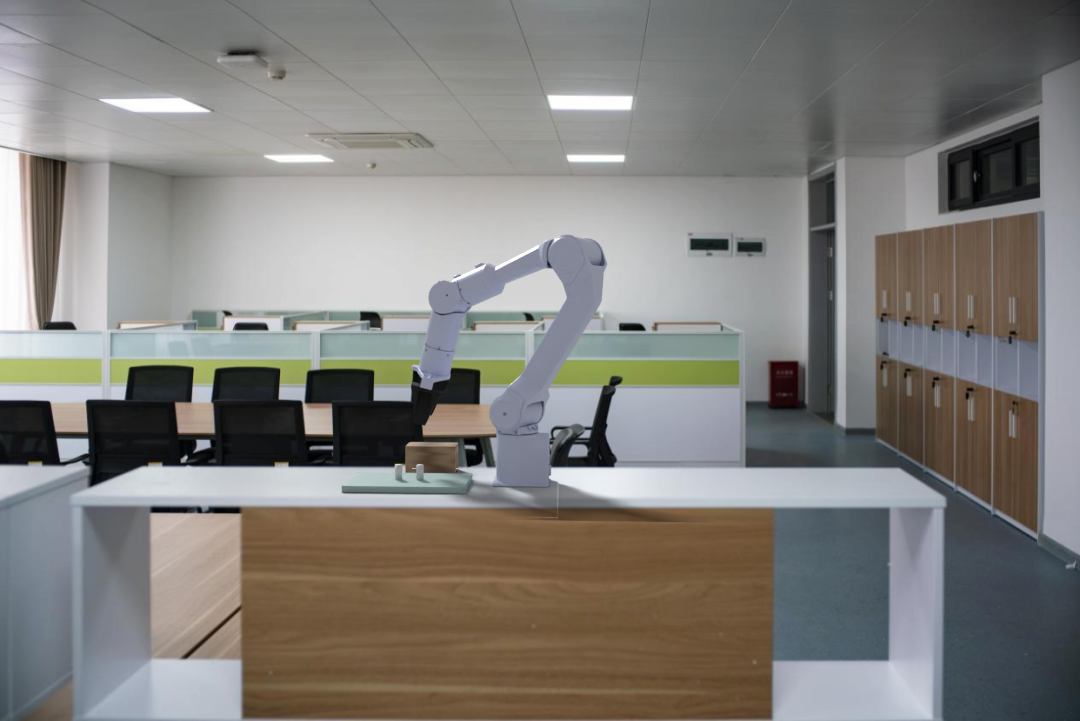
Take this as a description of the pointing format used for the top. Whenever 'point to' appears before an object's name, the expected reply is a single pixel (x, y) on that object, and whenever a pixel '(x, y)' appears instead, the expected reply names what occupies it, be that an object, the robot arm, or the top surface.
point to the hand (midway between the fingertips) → (423, 418)
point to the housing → (432, 457)
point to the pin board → (408, 482)
